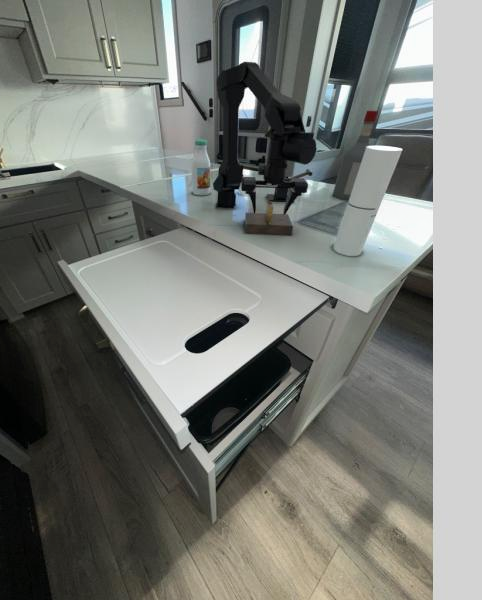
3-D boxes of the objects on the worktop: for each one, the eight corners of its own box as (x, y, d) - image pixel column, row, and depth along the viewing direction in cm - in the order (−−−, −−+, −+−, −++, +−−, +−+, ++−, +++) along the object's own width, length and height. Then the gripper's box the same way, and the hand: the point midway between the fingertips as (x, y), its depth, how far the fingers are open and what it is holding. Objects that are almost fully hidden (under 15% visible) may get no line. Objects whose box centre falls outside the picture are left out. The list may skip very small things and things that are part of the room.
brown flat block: (245, 233, 82) (246, 223, 81) (244, 221, 90) (245, 212, 88) (291, 235, 82) (293, 225, 80) (286, 222, 90) (288, 213, 88)
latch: (310, 173, 104) (309, 167, 103) (312, 176, 100) (312, 170, 99) (279, 184, 107) (277, 178, 106) (280, 188, 104) (279, 182, 102)
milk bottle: (190, 195, 113) (189, 141, 101) (194, 190, 119) (193, 138, 107) (208, 196, 112) (209, 141, 100) (211, 191, 118) (212, 139, 106)
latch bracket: (290, 197, 112) (294, 175, 106) (293, 203, 105) (298, 180, 100) (266, 196, 112) (269, 174, 107) (268, 202, 106) (271, 179, 100)
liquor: (361, 199, 110) (393, 111, 91) (344, 202, 107) (373, 111, 89) (344, 193, 117) (371, 110, 98) (328, 196, 114) (352, 110, 95)
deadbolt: (271, 221, 82) (273, 206, 79) (266, 221, 82) (268, 206, 79) (269, 215, 86) (272, 201, 83) (265, 215, 86) (267, 200, 83)
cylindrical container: (329, 244, 77) (360, 145, 61) (352, 243, 77) (389, 145, 62) (340, 256, 71) (378, 150, 56) (366, 255, 72) (410, 150, 56)
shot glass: (252, 192, 118) (254, 175, 113) (253, 196, 112) (255, 179, 108) (237, 191, 118) (238, 174, 114) (237, 196, 113) (238, 178, 108)
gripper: (305, 153, 79) (294, 206, 89) (243, 152, 80) (239, 204, 90) (314, 161, 70) (301, 218, 80) (244, 159, 72) (239, 216, 81)
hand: (269, 213), depth 83 cm, fingers open, 9 cm apart
